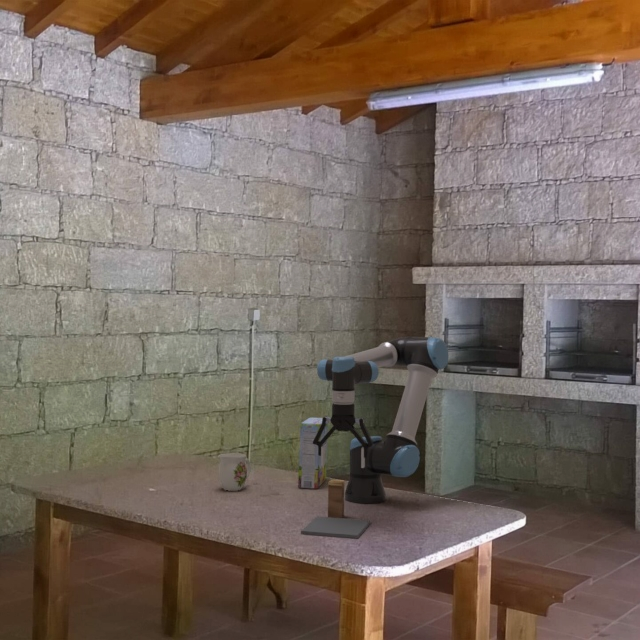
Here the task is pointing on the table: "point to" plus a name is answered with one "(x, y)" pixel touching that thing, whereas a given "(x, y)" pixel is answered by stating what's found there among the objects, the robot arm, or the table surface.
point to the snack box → (311, 455)
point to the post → (336, 498)
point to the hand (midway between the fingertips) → (342, 466)
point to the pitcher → (233, 471)
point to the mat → (336, 527)
